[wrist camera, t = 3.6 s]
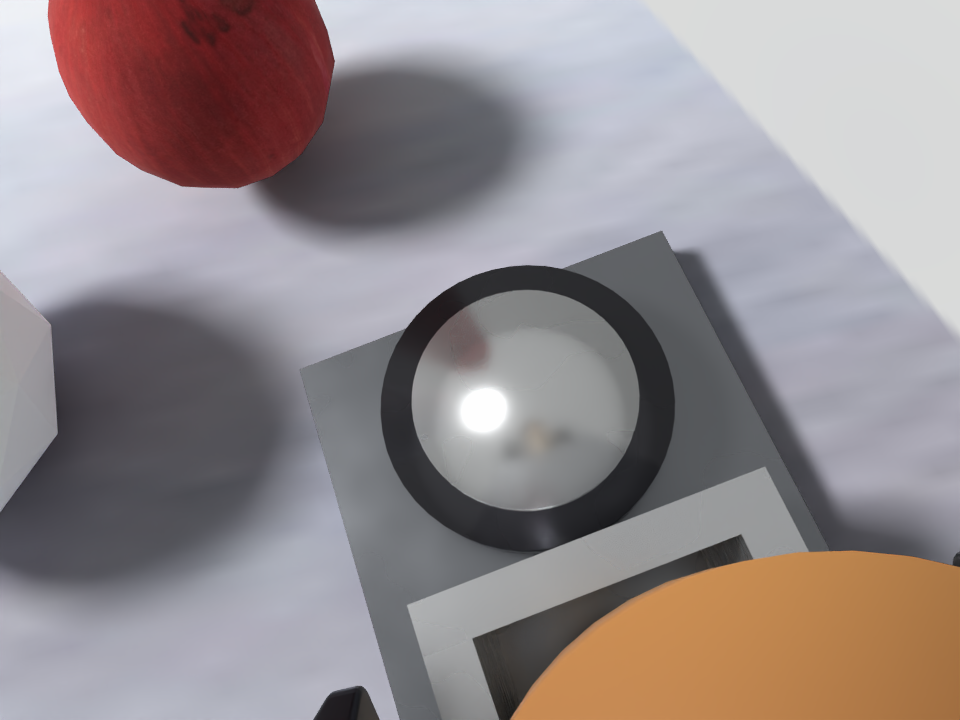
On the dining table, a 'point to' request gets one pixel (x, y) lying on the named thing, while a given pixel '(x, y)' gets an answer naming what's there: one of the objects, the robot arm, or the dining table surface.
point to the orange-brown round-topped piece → (770, 645)
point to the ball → (23, 388)
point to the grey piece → (541, 469)
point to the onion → (197, 82)
